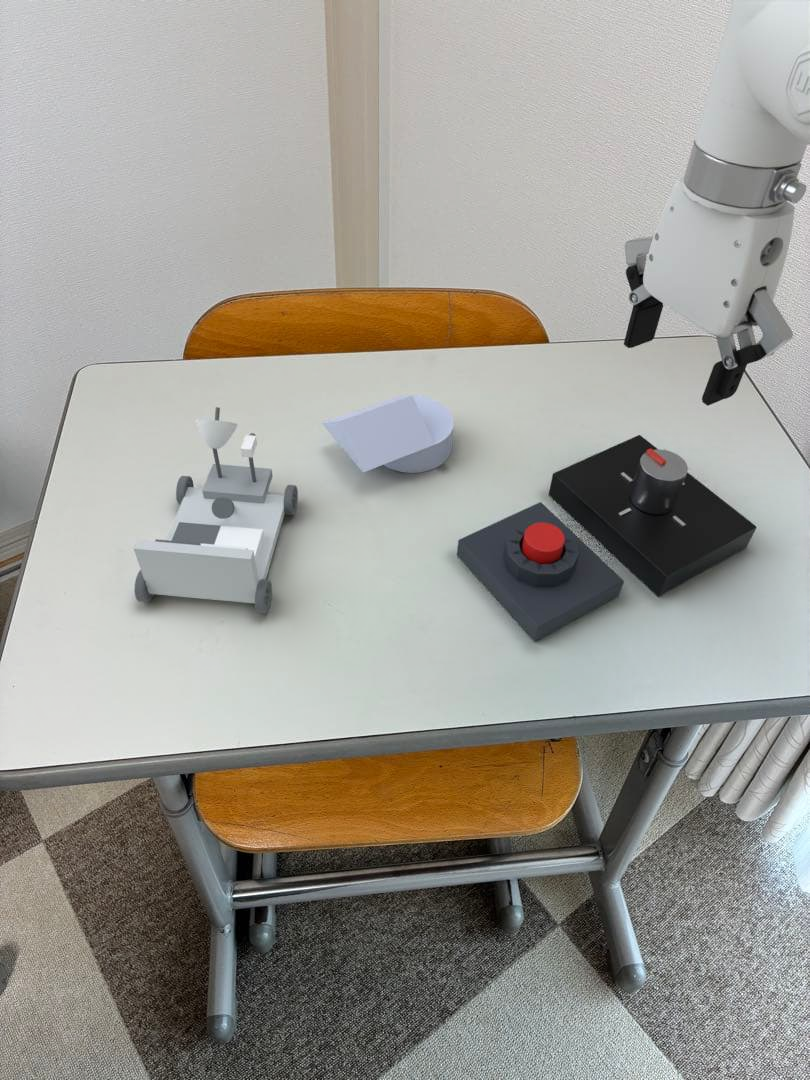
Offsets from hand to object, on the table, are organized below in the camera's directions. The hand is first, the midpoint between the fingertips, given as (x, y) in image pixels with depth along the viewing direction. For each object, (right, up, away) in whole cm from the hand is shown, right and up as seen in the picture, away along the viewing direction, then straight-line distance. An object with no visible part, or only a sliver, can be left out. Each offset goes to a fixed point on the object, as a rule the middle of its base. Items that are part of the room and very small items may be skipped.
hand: (675, 370), depth 71 cm
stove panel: (0, -13, +10) cm, 16 cm away
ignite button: (-12, -16, +2) cm, 20 cm away
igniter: (-12, -18, +5) cm, 22 cm away
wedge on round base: (-25, -6, +16) cm, 30 cm away
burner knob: (0, -11, +8) cm, 13 cm away
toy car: (-41, -15, +7) cm, 45 cm away
